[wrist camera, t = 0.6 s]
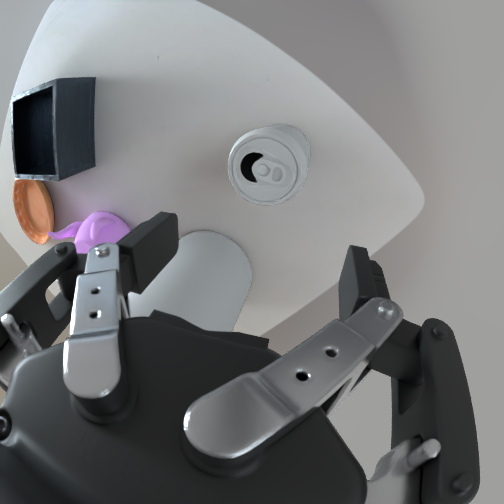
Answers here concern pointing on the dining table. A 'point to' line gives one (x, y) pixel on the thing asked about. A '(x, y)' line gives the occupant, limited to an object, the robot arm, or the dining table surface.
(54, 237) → the teapot
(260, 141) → the beverage can
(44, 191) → the saucer
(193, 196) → the dining table surface
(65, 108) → the dark gray open box
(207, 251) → the cylinder vase
